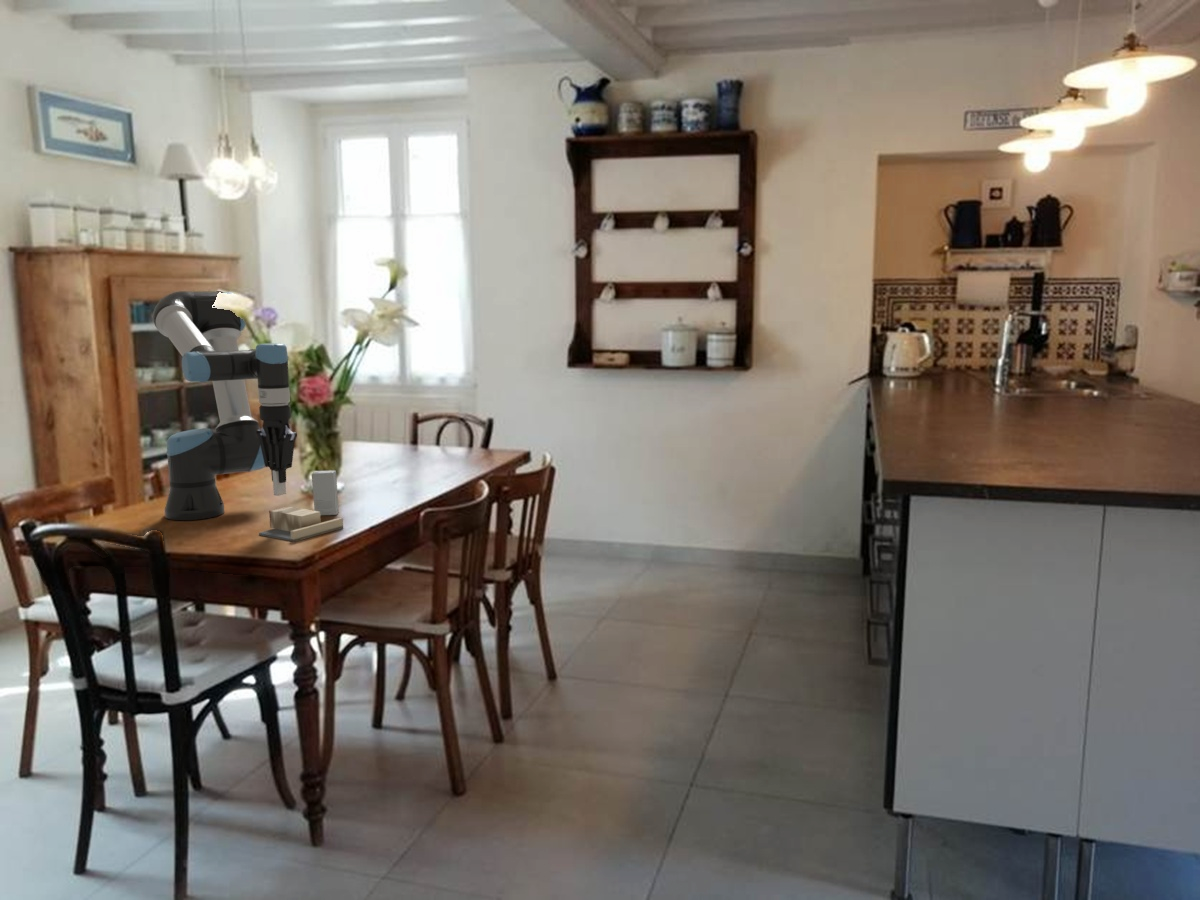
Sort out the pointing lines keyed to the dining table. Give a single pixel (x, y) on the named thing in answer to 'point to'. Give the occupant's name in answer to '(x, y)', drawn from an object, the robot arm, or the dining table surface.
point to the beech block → (293, 518)
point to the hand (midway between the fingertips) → (279, 494)
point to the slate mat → (305, 531)
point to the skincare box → (325, 492)
